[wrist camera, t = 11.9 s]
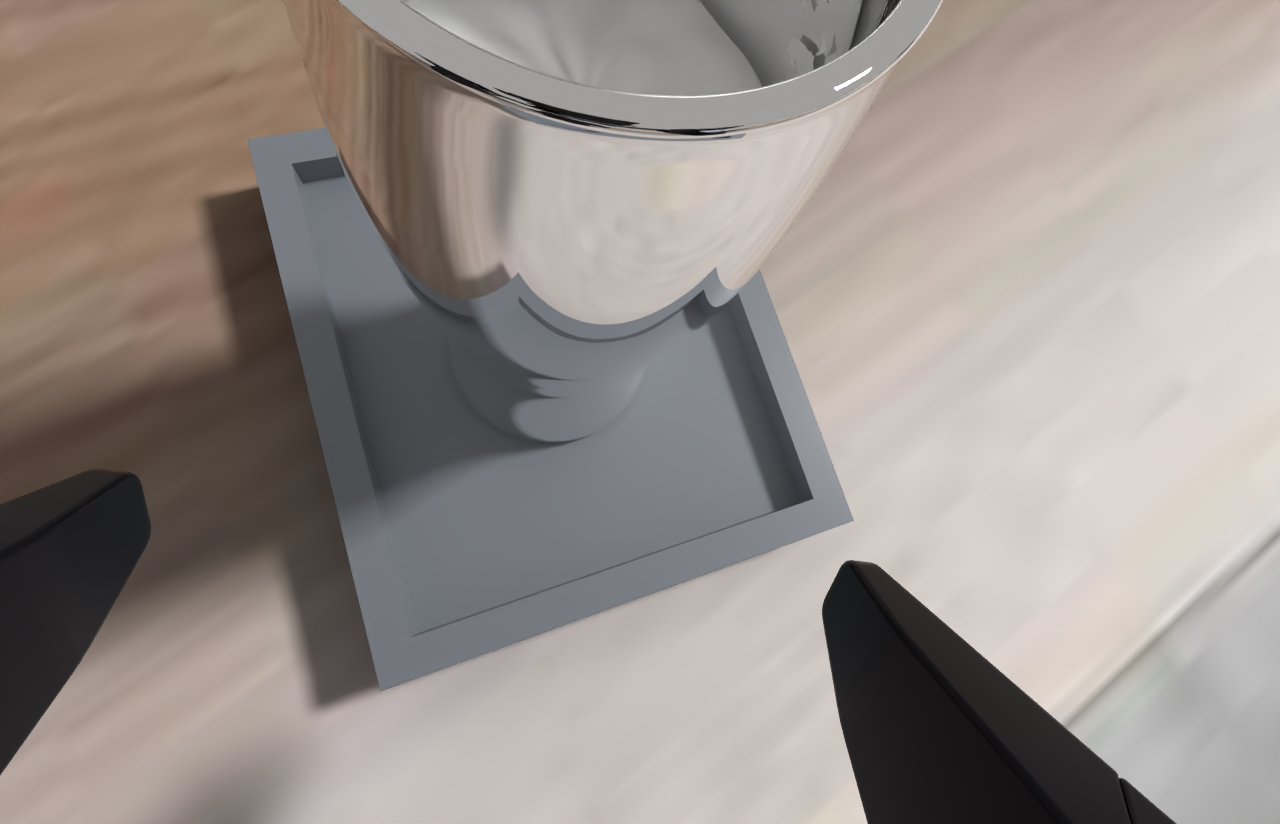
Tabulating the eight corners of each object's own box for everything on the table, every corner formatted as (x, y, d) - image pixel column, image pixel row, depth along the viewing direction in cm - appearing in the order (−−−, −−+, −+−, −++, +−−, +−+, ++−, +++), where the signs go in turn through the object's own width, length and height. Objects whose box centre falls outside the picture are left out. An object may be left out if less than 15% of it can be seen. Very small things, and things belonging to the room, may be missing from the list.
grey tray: (820, 524, 21) (853, 520, 19) (396, 675, 18) (380, 691, 16) (671, 116, 24) (686, 73, 22) (275, 182, 21) (247, 139, 19)
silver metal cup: (588, 213, 21) (734, -524, 7) (698, 389, 20) (1124, -11, 6) (391, 303, 19) (12, -450, 5) (506, 501, 19) (460, 306, 4)
